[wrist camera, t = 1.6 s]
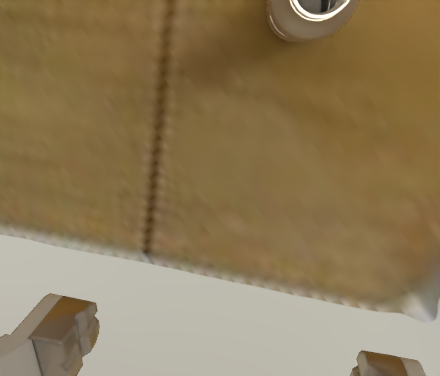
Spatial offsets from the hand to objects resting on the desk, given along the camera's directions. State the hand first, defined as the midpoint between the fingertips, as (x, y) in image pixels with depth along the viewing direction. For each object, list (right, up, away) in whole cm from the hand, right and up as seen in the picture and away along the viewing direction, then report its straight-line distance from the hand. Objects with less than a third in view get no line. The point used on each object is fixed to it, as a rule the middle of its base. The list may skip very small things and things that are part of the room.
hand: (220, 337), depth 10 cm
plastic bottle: (+9, +25, +26) cm, 37 cm away
